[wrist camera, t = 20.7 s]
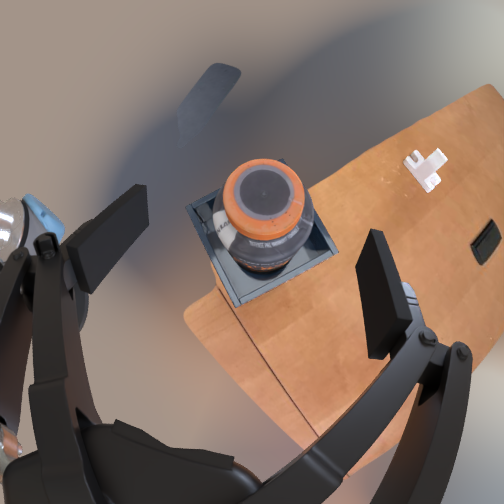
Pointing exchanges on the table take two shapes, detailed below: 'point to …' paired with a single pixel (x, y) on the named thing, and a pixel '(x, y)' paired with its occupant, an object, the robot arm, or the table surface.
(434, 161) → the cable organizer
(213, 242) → the square tray stand
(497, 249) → the table surface
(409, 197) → the table surface
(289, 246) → the pill bottle
